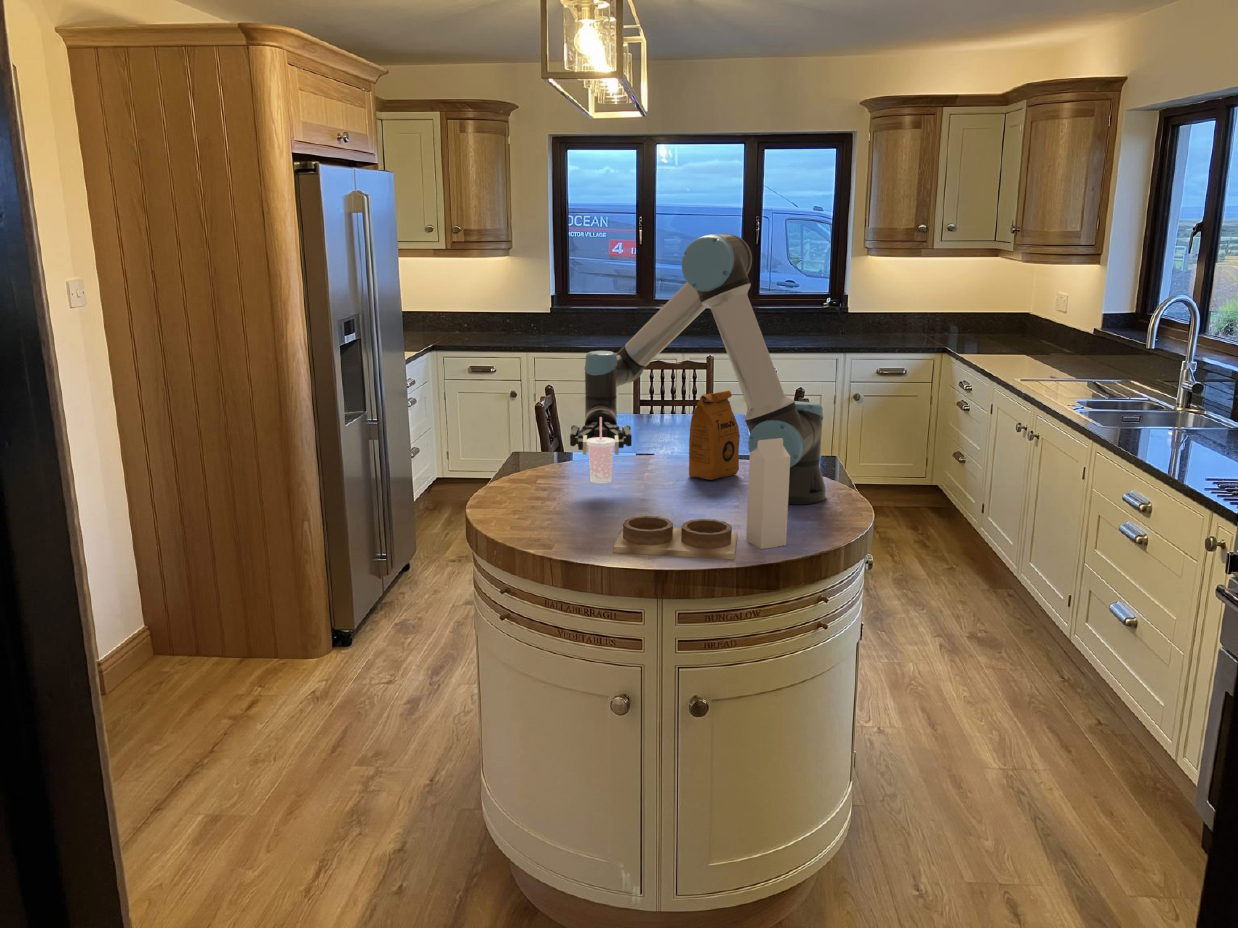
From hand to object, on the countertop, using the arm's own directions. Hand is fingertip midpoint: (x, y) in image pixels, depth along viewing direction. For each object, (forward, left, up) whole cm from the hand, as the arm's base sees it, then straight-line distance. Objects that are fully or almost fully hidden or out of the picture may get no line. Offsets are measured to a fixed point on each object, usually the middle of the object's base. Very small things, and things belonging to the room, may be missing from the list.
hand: (600, 448), depth 205 cm
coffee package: (-21, -48, -18) cm, 56 cm away
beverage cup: (+1, -5, -9) cm, 10 cm away
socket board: (-17, +7, -18) cm, 26 cm away
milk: (-35, +3, -18) cm, 40 cm away
